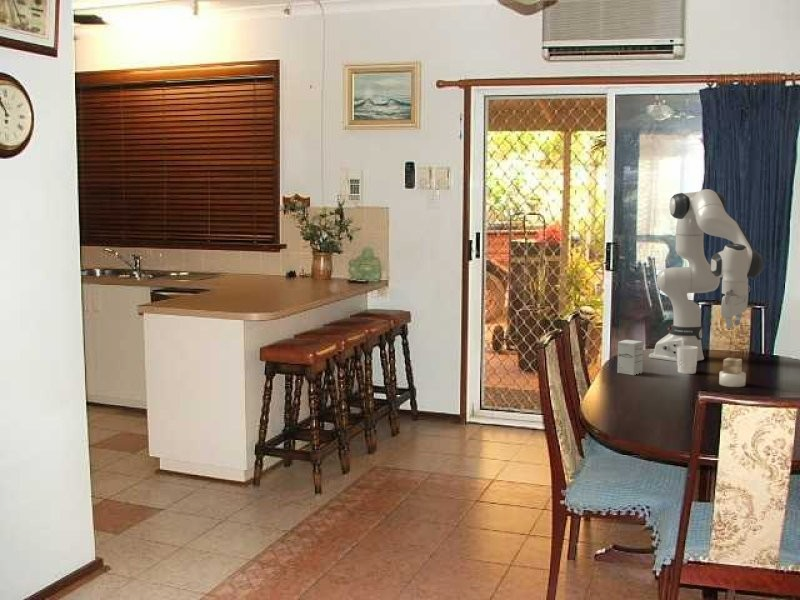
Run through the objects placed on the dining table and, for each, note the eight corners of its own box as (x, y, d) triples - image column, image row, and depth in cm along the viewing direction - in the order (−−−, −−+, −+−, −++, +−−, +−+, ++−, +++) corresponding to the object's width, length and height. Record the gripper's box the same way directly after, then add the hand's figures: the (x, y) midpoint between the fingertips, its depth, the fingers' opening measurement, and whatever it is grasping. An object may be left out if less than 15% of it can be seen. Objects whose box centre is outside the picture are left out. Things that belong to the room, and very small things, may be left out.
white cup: (698, 371, 346) (699, 346, 345) (696, 374, 339) (696, 349, 338) (677, 369, 349) (678, 345, 348) (674, 373, 342) (675, 348, 341)
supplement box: (616, 373, 344) (617, 341, 343) (626, 370, 349) (626, 339, 348) (633, 375, 339) (634, 343, 338) (643, 372, 344) (643, 341, 343)
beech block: (723, 373, 320) (723, 359, 320) (727, 371, 324) (728, 357, 323) (737, 374, 317) (737, 361, 316) (741, 372, 321) (742, 359, 320)
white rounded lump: (715, 385, 320) (715, 373, 320) (724, 381, 327) (724, 369, 327) (740, 388, 315) (740, 376, 314) (748, 384, 321) (749, 372, 321)
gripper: (735, 292, 308) (733, 331, 310) (751, 286, 324) (750, 323, 326) (716, 291, 312) (715, 329, 314) (734, 285, 328) (732, 322, 330)
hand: (733, 326), depth 320 cm, fingers open, 8 cm apart
